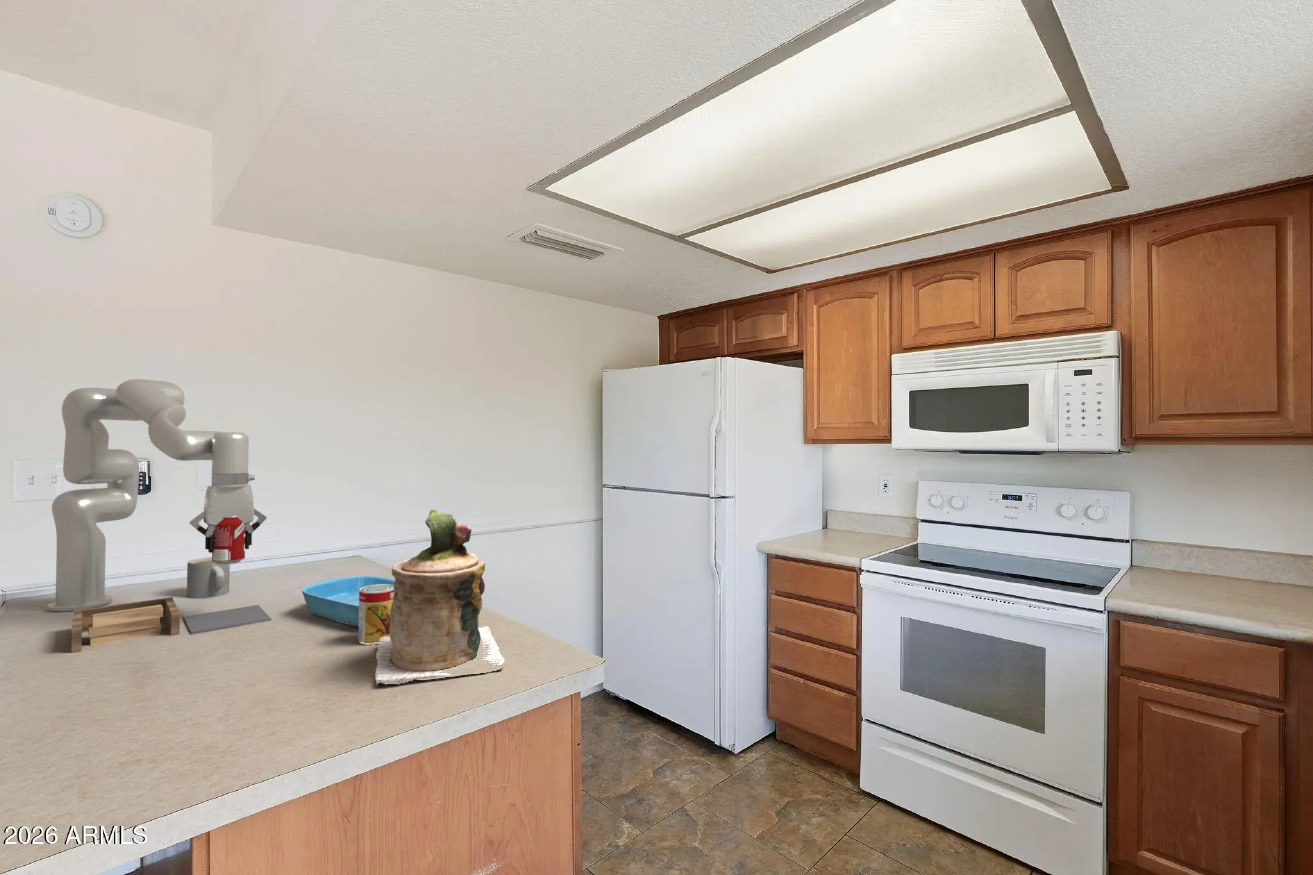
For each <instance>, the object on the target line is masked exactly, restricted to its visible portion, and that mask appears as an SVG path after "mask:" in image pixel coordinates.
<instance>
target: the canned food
mask: <svg viewBox="0 0 1313 875" xmlns="http://www.w3.org/2000/svg"><path fill="white" fill-rule="evenodd" d="M393 597H394V585H391V584H377V585H370V586H365V587H363V588H361V589H360V590H359V627H358V633H357V634H358V640H359V641H360V642H364V643H374V642H379V640H380V638H382V637H387V636H389V633H390V630H389V628H390V610H391V605H392V603H393ZM358 640H357V641H358Z"/></svg>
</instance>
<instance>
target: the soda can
mask: <svg viewBox="0 0 1313 875" xmlns="http://www.w3.org/2000/svg"><path fill="white" fill-rule="evenodd" d="M238 517H239V516H231V517H223V520H222V521H220V522H219V523H218V524H217V525H216V526H215V530H214V531H213V533H212V536H213V537H214V552H212V553H211V557H212V562H215V563H217V564H230V565H231V564H237V563H240V562H241V561H243V560H245V558H246V549H245V524H244V522H243V521H242V520H240V519H239V518H238Z"/></svg>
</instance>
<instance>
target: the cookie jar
mask: <svg viewBox="0 0 1313 875" xmlns="http://www.w3.org/2000/svg"><path fill="white" fill-rule="evenodd" d="M424 522H425V525H426V526H427V527H428V529H429V532H430V537H431V538H430V546H429V547H428V548H426V549H423V550H422V551H420V552H419V554H417V555H416V556H413V557H411V558H408V559H407V558H406V559H404V560H401V561H398V562H395V563H394V564H393V565H392V568H391V575H392V576H393V577H394V578H393V579H395V584H394V597H393V603H392V605H391V610H390V628H389V630H390V633H389V636H387V637H382V638H380V640H379V644H378V645H377V647H376V650H377V651H376V652H375V658H376V663H377V665H376V667H375V674H374V678H375V681H376V685H377V684H378V685H379V683H380V684H381V683H382V684H384V685H386V686H387V684H394V683H403V682H407V683H409V682H408V681H411V682H414V681H413V680H419V679H428V678H436V677H443V676H449V675H451V674H448V673H440V672H442V671H438V670H444V669H449V668H452V667H456V666H458V665H461V664H463V663H466V662H467V661H470V660H473V659H474V658H476V656H477V652H478V649H479V645H480V642H481V640H482V642H484V643H481V644H483V645H484V646H482V647H488V648H486V649H488V650H487V651H489V652H484V653H483V654H486V653H488V654H489V655H487V657H483V658H486V659H482V660H488V661H492V662H489V663H499V664H497V665H502V664H503V663H504V664H505V660H506V659H505V658H504V656H503V655H502V654H501V652H500V650H499V649H500V646H499V645H498V644H497V642H496V640H495V637H493V634H492V631H491V629H490V627H489V626H483V627H482V626H480V625H479V616H480V613H481V610H482V607H483V606H482V605H483V598H482V595H483V594H484V592H485V589H486V584H485V581H484V579H483V574H484V573H485V571H486V570H485V569H486V565H485V564H486V563H485V562H484V561H482V560H480V559H479V557H478V556H477V555H476V554H475V553H470V552H469V551H468V550H467V547H466V546H465V545H464V544H467V543H469V542H470V541H471V540H470V539H471V535H472V527H470V526H469V525H468V524H460V523H457V521H456V518H455V516H454V515H453V514H450V513H443V512H441V511H439V510H438V509H436V508H433V509H431V510H430V512H429V514H428V517H427V518H426V519H425V521H424ZM479 626H480V627H479ZM485 644H486V645H487V646H485ZM483 649H485V648H483ZM489 649H490V650H489ZM484 651H486V650H484ZM490 654H491V655H490ZM484 656H486V655H484ZM495 661H496V662H495ZM493 665H494V664H493ZM495 665H496V664H495ZM493 667H494V666H493ZM403 684H404V683H403Z"/></svg>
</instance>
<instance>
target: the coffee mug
mask: <svg viewBox="0 0 1313 875" xmlns="http://www.w3.org/2000/svg"><path fill="white" fill-rule="evenodd" d="M230 566H231V564H217V563H215V562H212V556H207V557H201V558H194V559H191V560H188V561H187V565H186V567H187V568H186V572H187V573H186V574H187V575H186V598H188V599H205V598H206V599H207V598H214V597H220V596H224V595H226V594H228V593H230V571H231V570H230V569H231V568H230Z"/></svg>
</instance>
